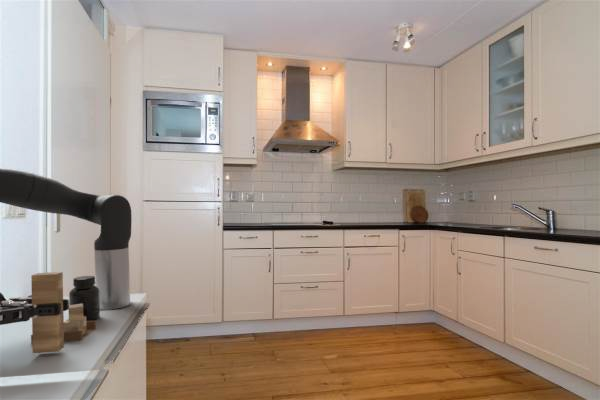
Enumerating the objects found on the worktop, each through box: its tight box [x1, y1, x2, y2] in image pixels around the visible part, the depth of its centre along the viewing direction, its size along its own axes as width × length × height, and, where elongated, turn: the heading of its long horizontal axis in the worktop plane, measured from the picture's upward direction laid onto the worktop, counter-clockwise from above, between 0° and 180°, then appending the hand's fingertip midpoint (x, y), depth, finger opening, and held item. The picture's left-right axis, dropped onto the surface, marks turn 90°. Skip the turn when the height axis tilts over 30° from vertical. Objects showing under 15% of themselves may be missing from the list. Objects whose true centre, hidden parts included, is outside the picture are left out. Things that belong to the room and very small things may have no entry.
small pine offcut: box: [68, 303, 84, 322], centre depth 87 cm, size 3×3×3 cm
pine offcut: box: [64, 317, 87, 334], centre depth 86 cm, size 4×3×4 cm
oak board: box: [30, 271, 65, 354], centre depth 76 cm, size 2×4×15 cm, turn 97°
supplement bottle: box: [68, 275, 101, 321], centre depth 98 cm, size 7×7×12 cm
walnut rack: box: [30, 320, 97, 345], centre depth 86 cm, size 8×10×3 cm
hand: (63, 306), depth 76 cm, fingers closed on oak board, 2 cm apart
